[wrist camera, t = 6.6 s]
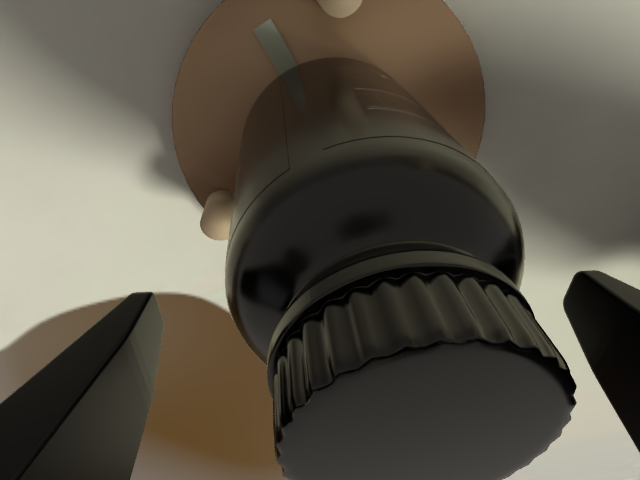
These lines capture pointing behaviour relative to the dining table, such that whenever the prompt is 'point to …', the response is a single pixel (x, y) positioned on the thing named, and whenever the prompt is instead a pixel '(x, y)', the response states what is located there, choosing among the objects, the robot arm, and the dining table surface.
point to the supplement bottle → (384, 288)
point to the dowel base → (299, 47)
